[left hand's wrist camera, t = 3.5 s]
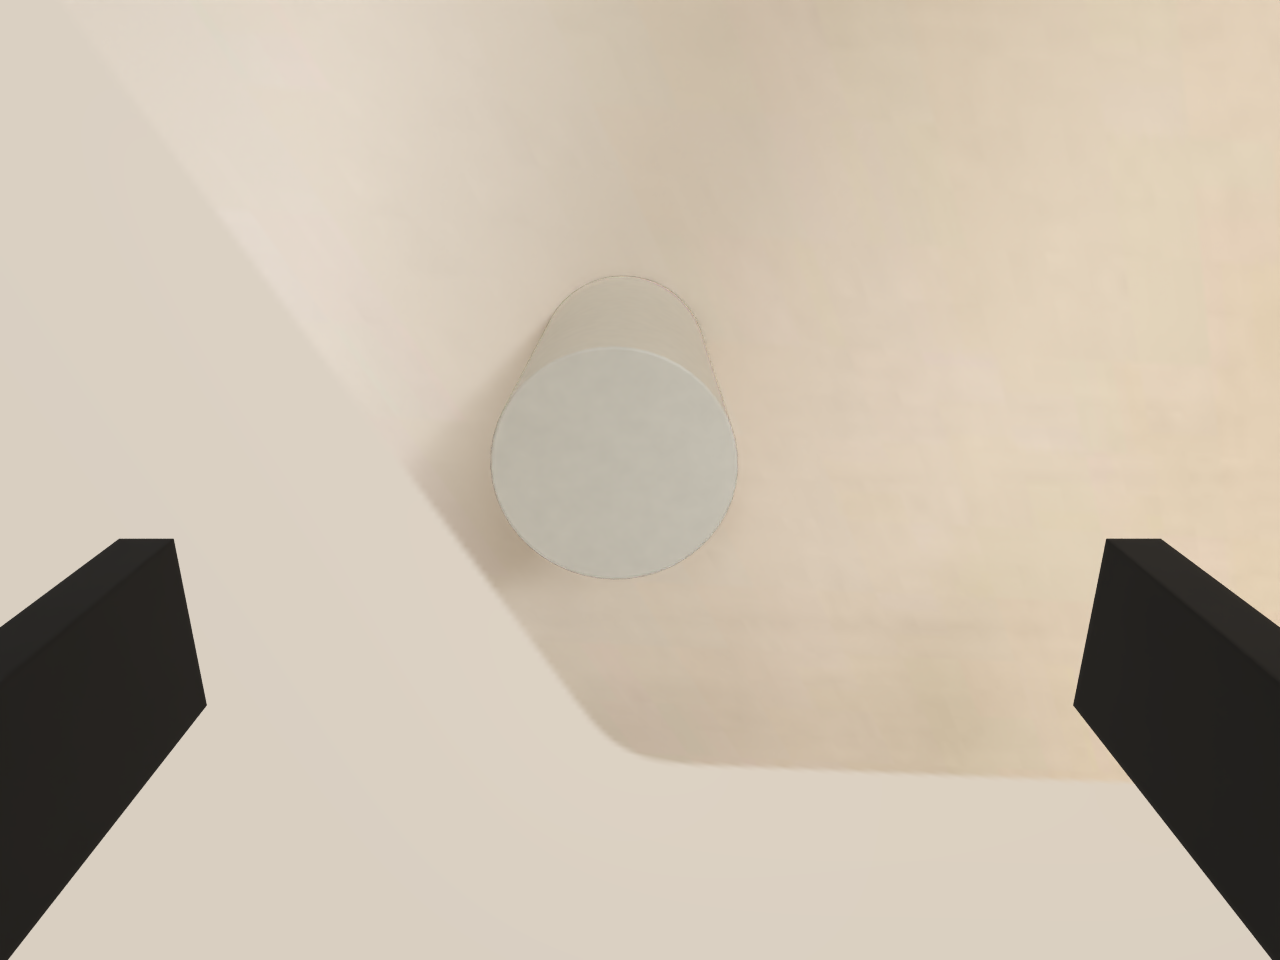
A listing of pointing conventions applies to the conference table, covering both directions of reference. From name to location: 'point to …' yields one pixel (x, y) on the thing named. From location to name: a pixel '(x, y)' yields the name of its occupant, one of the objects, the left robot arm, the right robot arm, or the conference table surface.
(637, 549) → the canister
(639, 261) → the conference table surface
